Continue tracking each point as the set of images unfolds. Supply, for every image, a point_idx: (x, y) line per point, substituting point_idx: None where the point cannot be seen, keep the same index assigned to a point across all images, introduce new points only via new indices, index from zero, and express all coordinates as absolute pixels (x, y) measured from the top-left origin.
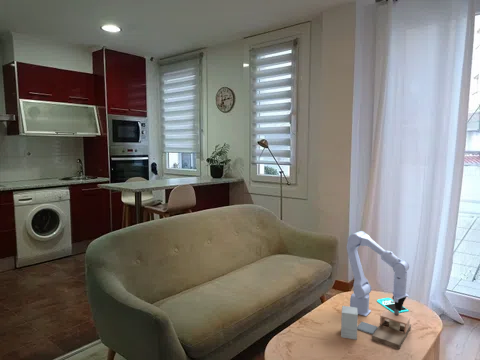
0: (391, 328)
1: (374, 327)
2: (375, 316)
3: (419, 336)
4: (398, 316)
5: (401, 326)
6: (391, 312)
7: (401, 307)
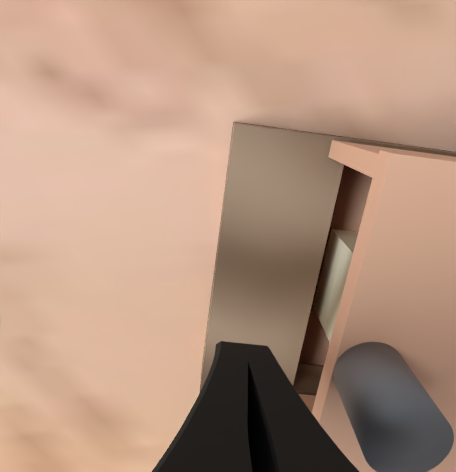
0: None
1: None
2: None
3: (383, 3)
4: (427, 338)
5: (325, 226)
6: None
7: (303, 404)
